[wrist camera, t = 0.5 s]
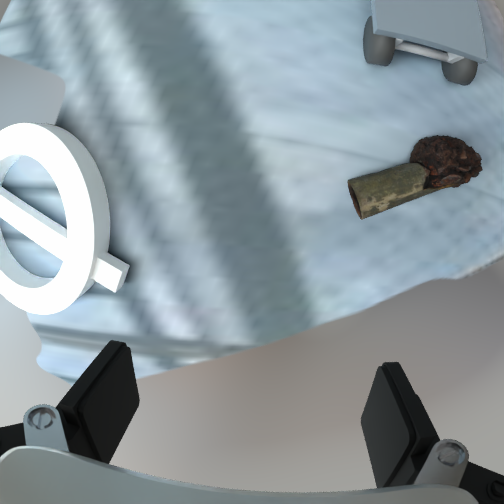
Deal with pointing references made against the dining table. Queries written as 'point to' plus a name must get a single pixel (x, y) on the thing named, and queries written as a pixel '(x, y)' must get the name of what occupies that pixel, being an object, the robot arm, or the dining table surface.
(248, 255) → the dining table surface
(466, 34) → the trolley
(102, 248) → the ring with crossbar
